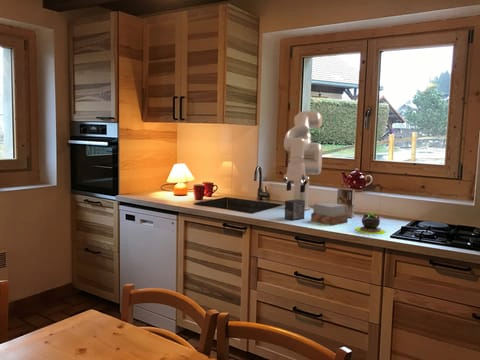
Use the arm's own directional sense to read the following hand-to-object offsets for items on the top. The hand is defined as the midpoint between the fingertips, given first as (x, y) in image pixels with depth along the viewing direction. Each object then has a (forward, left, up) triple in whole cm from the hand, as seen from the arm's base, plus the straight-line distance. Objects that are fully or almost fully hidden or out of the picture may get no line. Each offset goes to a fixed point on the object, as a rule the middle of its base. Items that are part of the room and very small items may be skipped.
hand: (295, 191), depth 245 cm
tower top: (+16, +9, -11) cm, 22 cm away
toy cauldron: (+42, +8, -16) cm, 46 cm away
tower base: (+17, +10, -16) cm, 25 cm away
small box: (0, 0, -16) cm, 16 cm away
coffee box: (+13, +31, -16) cm, 37 cm away
